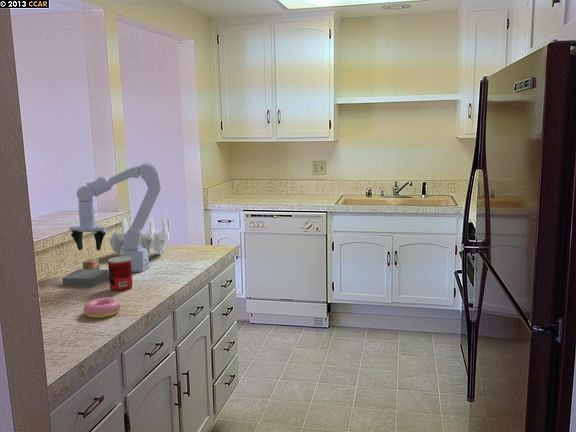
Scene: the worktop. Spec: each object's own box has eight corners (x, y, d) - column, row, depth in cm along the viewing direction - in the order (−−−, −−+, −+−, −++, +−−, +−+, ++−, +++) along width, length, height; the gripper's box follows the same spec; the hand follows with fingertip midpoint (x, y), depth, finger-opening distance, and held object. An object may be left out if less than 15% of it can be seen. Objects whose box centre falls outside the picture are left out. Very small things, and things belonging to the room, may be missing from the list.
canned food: (137, 286, 189) (135, 256, 187) (123, 292, 181) (121, 262, 180) (119, 284, 191) (117, 255, 189) (105, 290, 184) (103, 260, 182)
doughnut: (127, 313, 162) (126, 300, 161) (94, 322, 154) (93, 309, 153) (110, 305, 169) (109, 293, 168) (77, 314, 161) (76, 301, 160)
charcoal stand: (108, 277, 200) (108, 269, 200) (93, 286, 189) (93, 278, 188) (79, 276, 202) (78, 269, 201) (62, 285, 190) (62, 278, 189)
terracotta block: (99, 271, 209) (98, 259, 208) (94, 274, 205) (93, 262, 204) (89, 271, 210) (88, 259, 209) (83, 274, 205) (82, 262, 205)
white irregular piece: (119, 261, 240) (172, 258, 241) (106, 253, 223) (164, 250, 224) (120, 223, 245) (172, 220, 246) (107, 213, 228) (164, 209, 229)
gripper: (64, 217, 200) (67, 251, 203) (99, 218, 199) (102, 252, 201) (73, 214, 207) (76, 247, 209) (108, 215, 206) (110, 248, 208)
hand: (89, 249), depth 206 cm, fingers open, 7 cm apart
